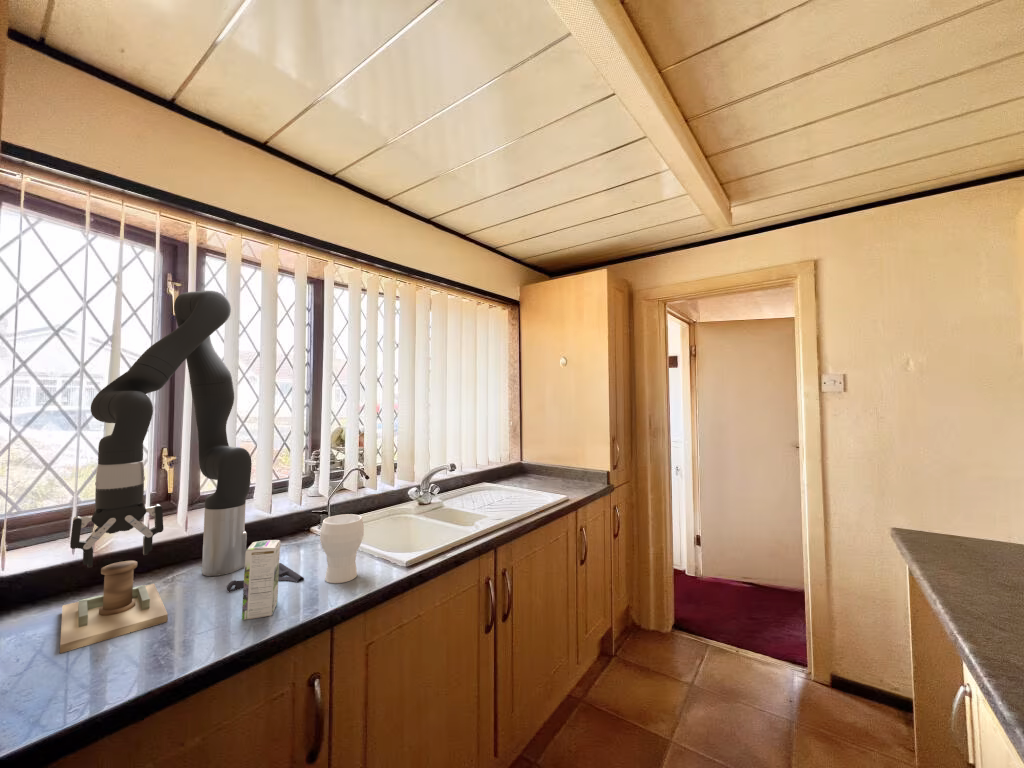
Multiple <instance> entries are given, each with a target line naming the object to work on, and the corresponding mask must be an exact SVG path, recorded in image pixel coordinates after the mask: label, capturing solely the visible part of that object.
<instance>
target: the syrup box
mask: <svg viewBox="0 0 1024 768" xmlns="http://www.w3.org/2000/svg"><path fill="white" fill-rule="evenodd" d="M280 549H281V540H279V539H267V540H265V539H264V540H259V541H253V542H251V544H250V545H249V546H248V548H246V553H245V567H244V574H243V580H244V587H243V588H242V589H243V591H242V610H241V620H242V621H245V620H252V619H253V620H254V619H258V618H264V617H270V616H271V617H272V616H273V614H274V612H275V610H276V608H277V607H276V606H277V605H278V596H279V595H278V594H279V581H278V578H279V563H280V555H281V550H280Z"/></svg>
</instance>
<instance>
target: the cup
mask: <svg viewBox="0 0 1024 768" xmlns="http://www.w3.org/2000/svg"><path fill="white" fill-rule="evenodd" d="M364 525H365V524H364V521H363V517H362V515H359V514H353V513H350V514H349V513H347V514H346V513H345V514H337V515H332V516H329V517H325V518H324V519H323V520H322V524H321V528H320V530H319V540H320V544H321V547H322V549H323V552H324V553H325V555H326V562H327V563H326V564H327V567H326V571H325V577H324V580H325V582H327V583H329V584H341V583H346V582H349V581H352V580H355V578H356V577H357V576H358V571H357V563H356V558H357V553H358V550H359V548H360V546H361V544H362V541H363V540H364V539H363V538H364V535H365V534H364V533H365V532H364V531H365V527H364Z"/></svg>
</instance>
